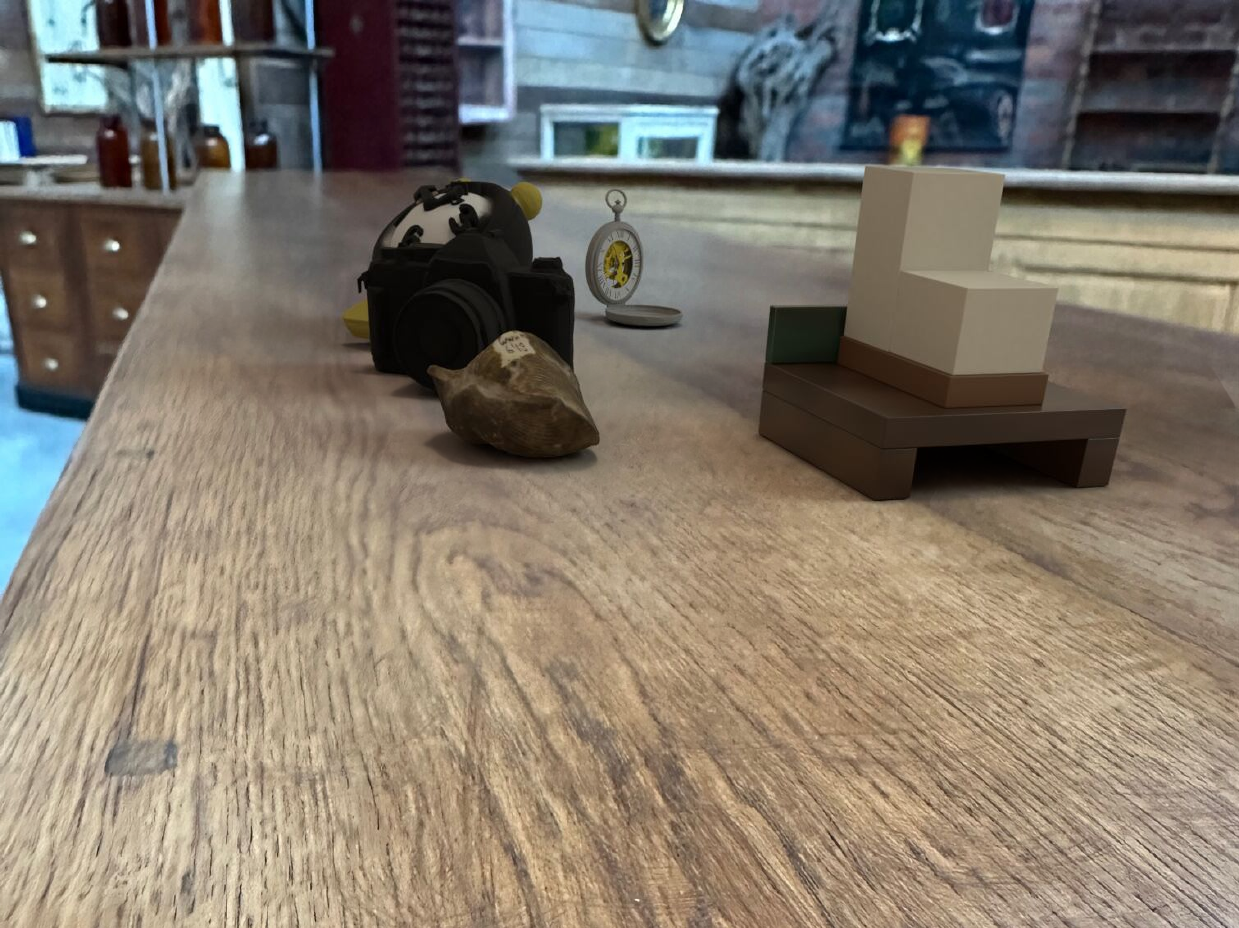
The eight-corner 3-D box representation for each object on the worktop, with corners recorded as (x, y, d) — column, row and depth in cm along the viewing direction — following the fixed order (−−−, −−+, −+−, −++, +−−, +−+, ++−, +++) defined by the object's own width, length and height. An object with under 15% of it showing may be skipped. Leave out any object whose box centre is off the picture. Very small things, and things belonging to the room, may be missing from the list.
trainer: (836, 363, 70) (861, 165, 64) (925, 361, 71) (955, 168, 66) (944, 408, 60) (983, 181, 55) (1043, 404, 62) (1089, 183, 57)
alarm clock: (356, 377, 99) (358, 183, 97) (536, 387, 100) (541, 196, 98) (335, 333, 87) (337, 112, 85) (540, 345, 88) (545, 128, 87)
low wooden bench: (757, 433, 71) (769, 304, 68) (962, 424, 76) (984, 302, 72) (874, 500, 60) (896, 351, 57) (1108, 485, 64) (1143, 345, 61)
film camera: (319, 385, 78) (306, 230, 73) (387, 360, 86) (379, 218, 81) (541, 409, 74) (542, 247, 70) (591, 380, 82) (594, 233, 78)
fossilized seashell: (390, 391, 66) (485, 465, 60) (451, 278, 64) (555, 343, 58) (487, 447, 72) (582, 519, 66) (546, 345, 70) (649, 410, 64)
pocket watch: (677, 331, 101) (685, 196, 96) (577, 325, 102) (580, 190, 97) (688, 316, 108) (695, 190, 103) (594, 310, 109) (597, 185, 104)
